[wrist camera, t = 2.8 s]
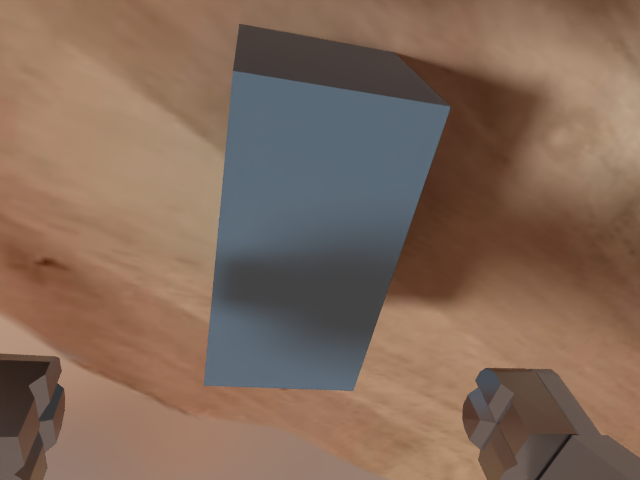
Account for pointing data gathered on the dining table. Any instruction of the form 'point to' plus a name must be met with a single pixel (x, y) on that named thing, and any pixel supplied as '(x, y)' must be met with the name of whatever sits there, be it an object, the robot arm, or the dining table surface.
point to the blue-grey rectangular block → (313, 206)
